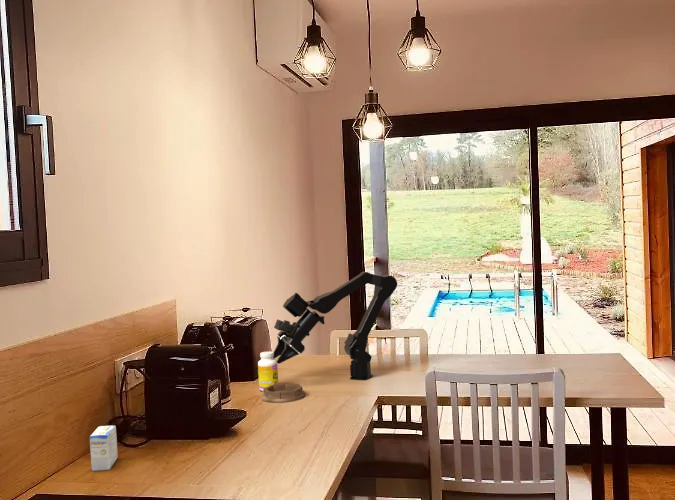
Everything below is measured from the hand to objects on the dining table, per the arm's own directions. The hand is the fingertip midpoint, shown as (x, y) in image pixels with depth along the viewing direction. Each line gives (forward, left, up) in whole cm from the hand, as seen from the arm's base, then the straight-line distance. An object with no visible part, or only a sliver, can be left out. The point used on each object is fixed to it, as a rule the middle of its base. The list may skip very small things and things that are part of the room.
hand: (274, 360), depth 233 cm
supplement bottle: (+2, +2, -10) cm, 10 cm away
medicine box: (+4, +76, -10) cm, 77 cm away
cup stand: (-8, +9, -10) cm, 16 cm away
